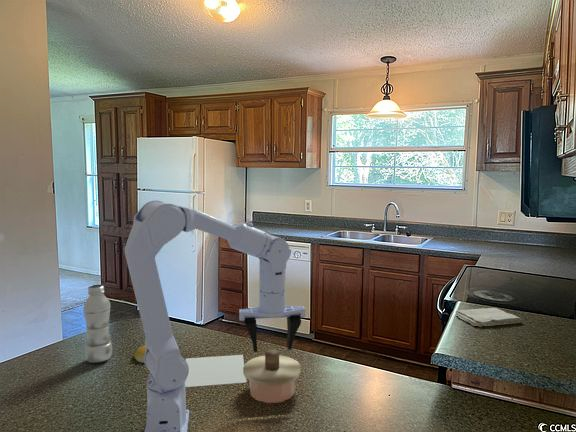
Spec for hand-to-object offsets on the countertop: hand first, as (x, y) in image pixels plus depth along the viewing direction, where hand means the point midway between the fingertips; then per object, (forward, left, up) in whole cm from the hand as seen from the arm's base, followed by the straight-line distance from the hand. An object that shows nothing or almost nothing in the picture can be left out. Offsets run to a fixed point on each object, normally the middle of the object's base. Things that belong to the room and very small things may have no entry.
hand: (272, 349), depth 94 cm
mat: (+12, +13, -10) cm, 20 cm away
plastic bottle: (+23, +43, -10) cm, 50 cm away
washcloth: (+35, -78, -11) cm, 86 cm away
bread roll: (+23, +29, -11) cm, 39 cm away
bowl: (0, 0, -10) cm, 10 cm away
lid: (0, 0, -5) cm, 5 cm away
